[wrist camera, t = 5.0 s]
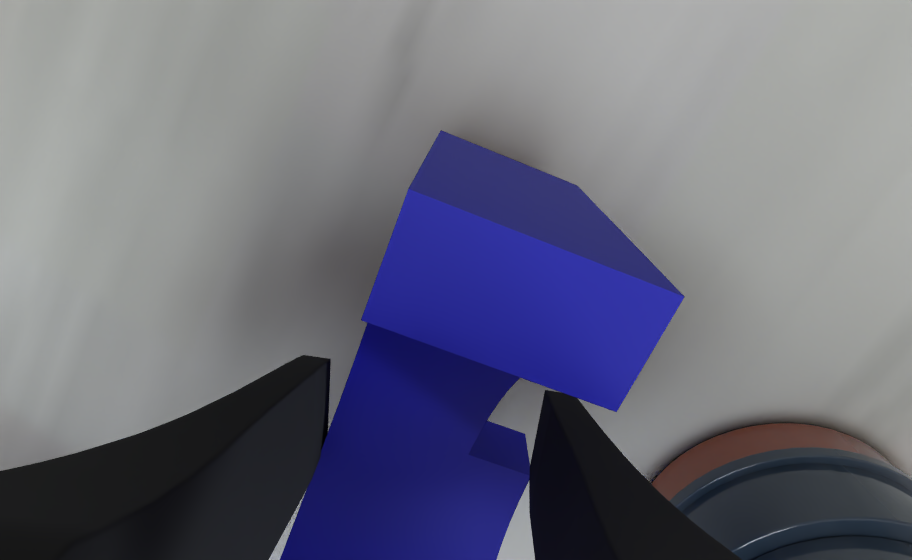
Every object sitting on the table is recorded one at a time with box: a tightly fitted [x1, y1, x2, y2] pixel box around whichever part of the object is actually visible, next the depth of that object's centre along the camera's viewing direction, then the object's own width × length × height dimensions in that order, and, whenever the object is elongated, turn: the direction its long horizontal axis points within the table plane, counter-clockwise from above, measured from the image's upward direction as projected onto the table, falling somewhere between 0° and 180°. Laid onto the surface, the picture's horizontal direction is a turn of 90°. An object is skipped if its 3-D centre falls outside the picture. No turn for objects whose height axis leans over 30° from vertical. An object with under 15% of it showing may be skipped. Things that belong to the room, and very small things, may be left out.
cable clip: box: [280, 131, 684, 560], centre depth 10 cm, size 12×4×6 cm, turn 159°
